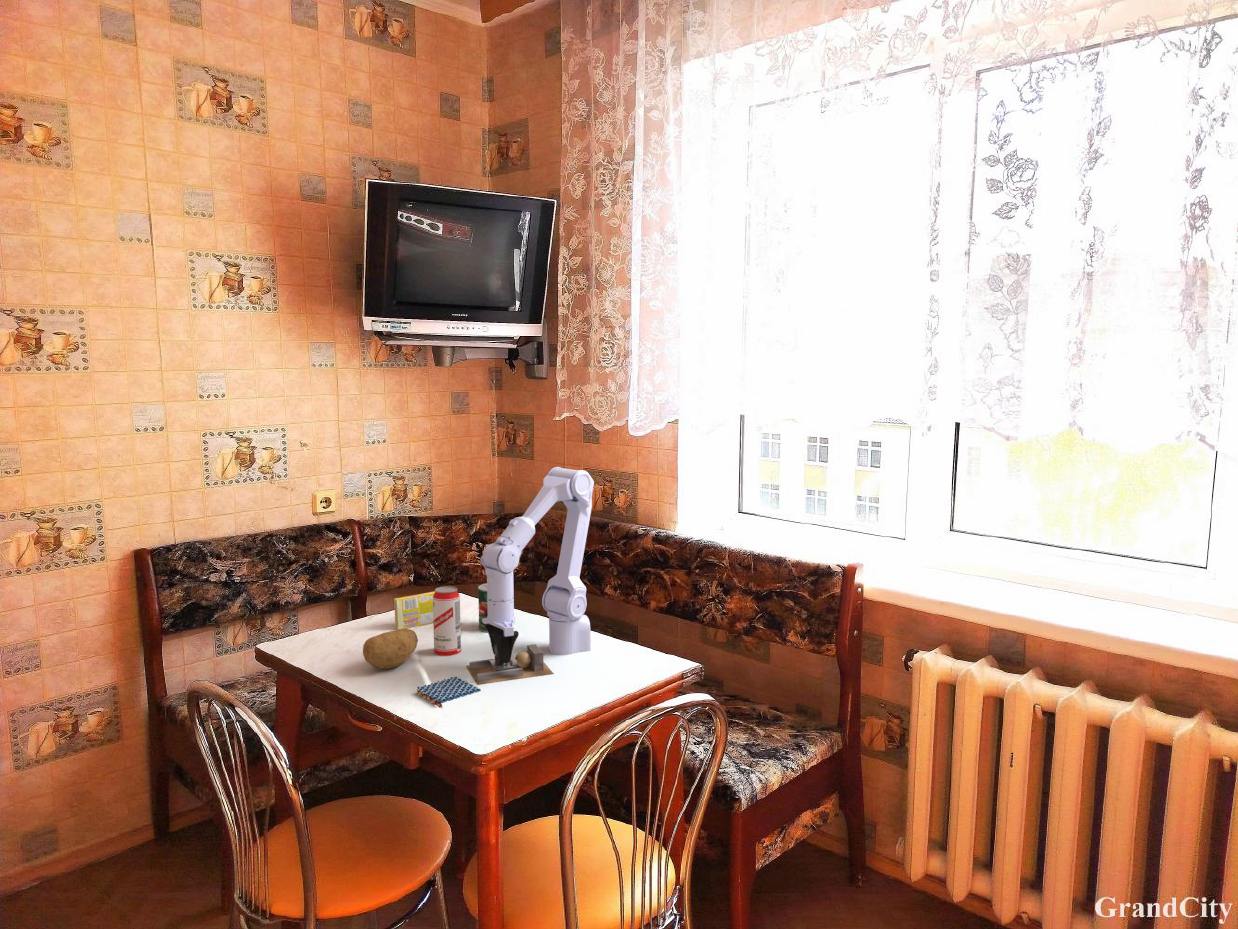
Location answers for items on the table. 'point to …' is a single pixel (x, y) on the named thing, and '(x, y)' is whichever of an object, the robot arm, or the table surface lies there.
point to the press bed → (486, 675)
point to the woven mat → (446, 690)
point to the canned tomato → (482, 605)
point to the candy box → (413, 610)
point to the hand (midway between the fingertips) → (501, 658)
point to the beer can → (446, 621)
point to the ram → (497, 666)
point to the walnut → (523, 659)
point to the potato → (390, 648)
